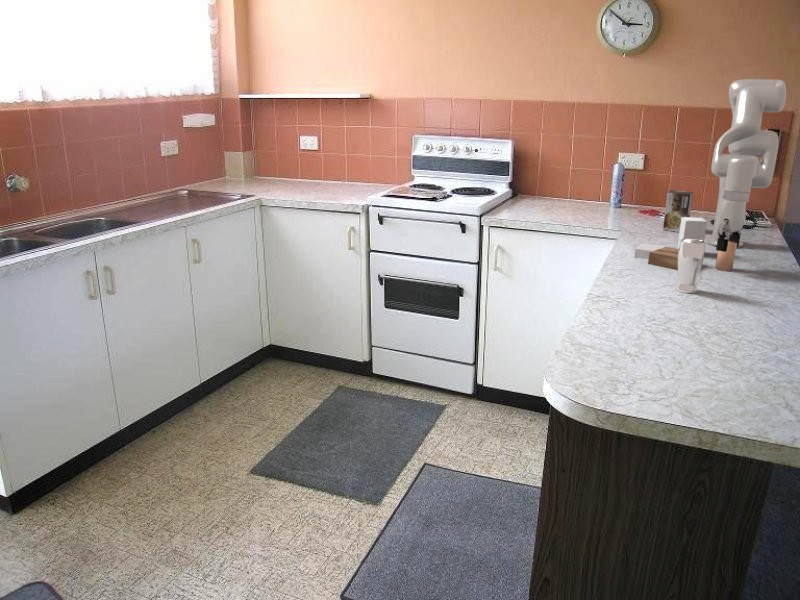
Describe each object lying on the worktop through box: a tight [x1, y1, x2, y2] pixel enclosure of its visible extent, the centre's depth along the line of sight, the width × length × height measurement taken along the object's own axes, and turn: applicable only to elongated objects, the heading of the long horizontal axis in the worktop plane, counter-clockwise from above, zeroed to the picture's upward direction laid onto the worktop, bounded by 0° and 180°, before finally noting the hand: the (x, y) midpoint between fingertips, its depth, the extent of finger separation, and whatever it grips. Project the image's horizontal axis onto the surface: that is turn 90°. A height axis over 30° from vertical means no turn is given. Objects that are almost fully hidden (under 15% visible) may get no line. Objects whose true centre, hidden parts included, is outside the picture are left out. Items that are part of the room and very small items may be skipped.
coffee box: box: [662, 189, 694, 233], centre depth 274 cm, size 9×6×16 cm
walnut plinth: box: [647, 246, 679, 271], centre depth 225 cm, size 12×12×4 cm
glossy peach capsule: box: [714, 241, 737, 272], centre depth 219 cm, size 5×5×9 cm
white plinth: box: [634, 243, 672, 260], centre depth 235 cm, size 10×10×3 cm
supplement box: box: [676, 216, 708, 249], centre depth 238 cm, size 7×7×13 cm
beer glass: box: [674, 238, 706, 294], centre depth 195 cm, size 7×7×15 cm
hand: (727, 248), depth 218 cm, fingers open, 9 cm apart
